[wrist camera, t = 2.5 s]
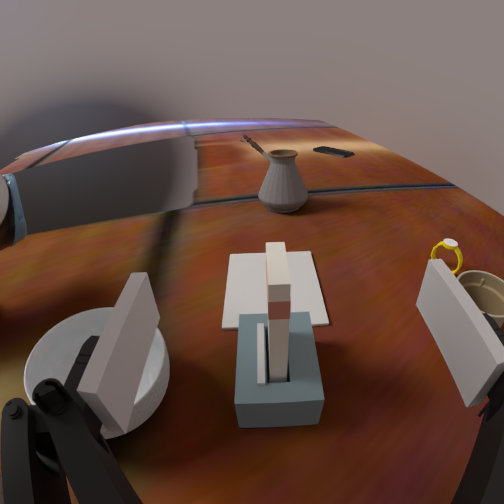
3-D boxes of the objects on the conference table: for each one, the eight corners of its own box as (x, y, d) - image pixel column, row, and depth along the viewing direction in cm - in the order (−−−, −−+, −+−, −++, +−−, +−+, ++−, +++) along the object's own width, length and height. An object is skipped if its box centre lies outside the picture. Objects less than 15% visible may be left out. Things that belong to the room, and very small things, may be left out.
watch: (426, 268, 50) (432, 238, 47) (432, 263, 51) (438, 233, 49) (454, 281, 46) (462, 250, 43) (460, 275, 47) (467, 245, 44)
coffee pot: (318, 207, 73) (320, 144, 65) (280, 221, 67) (279, 151, 59) (262, 183, 88) (260, 131, 80) (227, 194, 82) (223, 137, 75)
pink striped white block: (286, 397, 30) (291, 284, 23) (269, 398, 30) (267, 285, 23) (282, 355, 36) (284, 241, 28) (268, 355, 36) (265, 242, 28)
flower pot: (428, 318, 40) (446, 268, 35) (479, 317, 38) (499, 270, 34) (445, 369, 32) (471, 318, 27) (500, 363, 30) (529, 314, 26)
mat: (328, 325, 41) (329, 323, 40) (222, 329, 41) (221, 327, 41) (310, 253, 56) (310, 251, 56) (230, 256, 56) (230, 254, 56)
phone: (322, 146, 124) (354, 152, 115) (322, 148, 124) (354, 155, 115) (311, 149, 119) (344, 155, 110) (311, 151, 120) (344, 158, 111)
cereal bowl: (190, 347, 38) (179, 306, 35) (167, 469, 24) (144, 440, 21) (78, 340, 39) (58, 302, 35) (34, 437, 25) (0, 403, 21)
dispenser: (318, 423, 28) (325, 397, 25) (238, 427, 29) (234, 401, 26) (306, 340, 39) (309, 308, 36) (242, 343, 39) (238, 311, 36)
